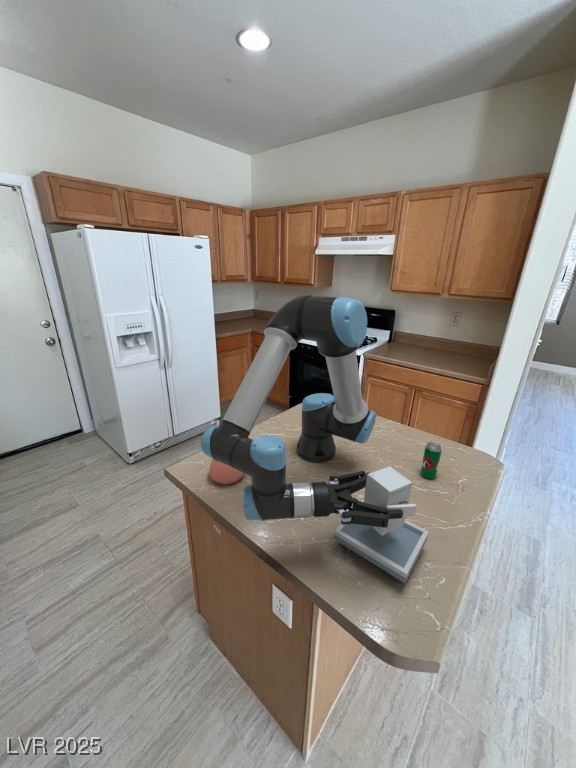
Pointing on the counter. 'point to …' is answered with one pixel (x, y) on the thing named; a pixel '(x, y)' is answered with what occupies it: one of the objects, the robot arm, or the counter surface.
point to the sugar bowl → (224, 473)
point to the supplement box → (387, 493)
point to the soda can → (431, 460)
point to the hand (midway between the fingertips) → (405, 494)
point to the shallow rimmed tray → (385, 546)
